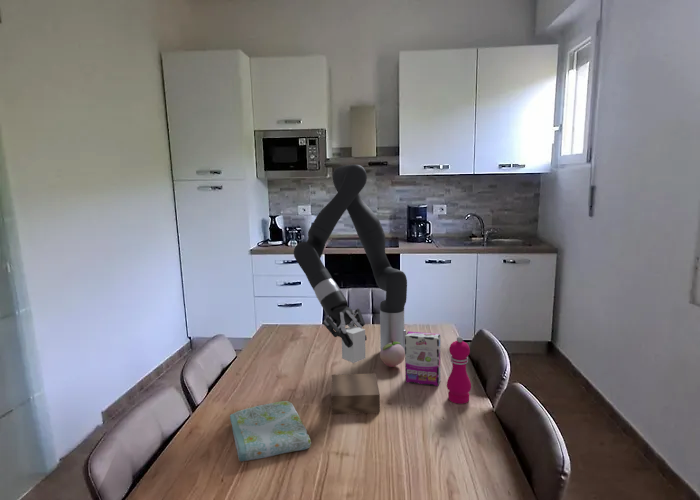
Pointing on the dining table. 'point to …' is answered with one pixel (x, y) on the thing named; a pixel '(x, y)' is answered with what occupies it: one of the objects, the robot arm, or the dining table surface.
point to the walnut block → (355, 394)
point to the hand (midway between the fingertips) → (357, 343)
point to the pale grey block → (354, 345)
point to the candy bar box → (422, 358)
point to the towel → (268, 431)
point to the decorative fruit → (392, 354)
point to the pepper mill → (459, 373)
